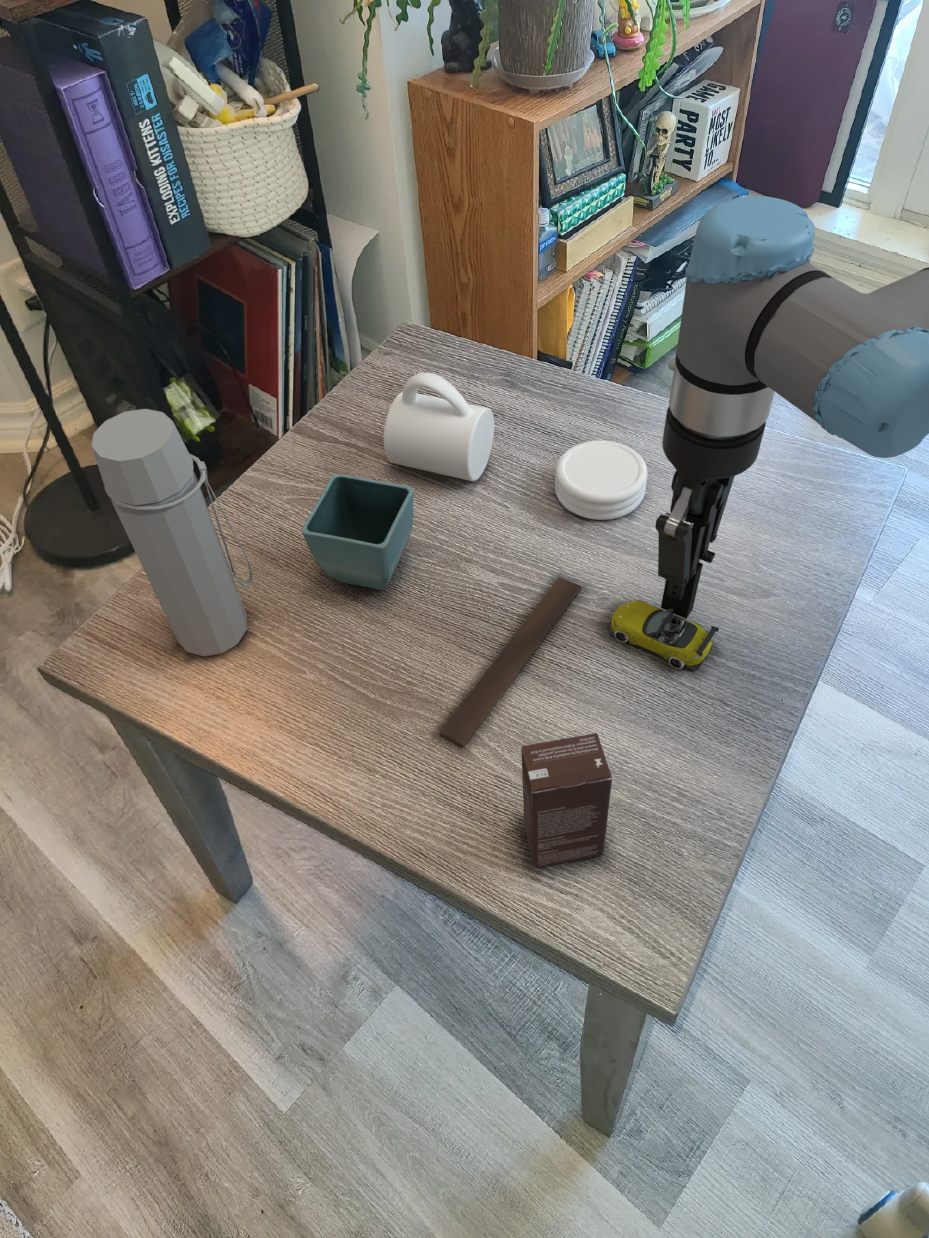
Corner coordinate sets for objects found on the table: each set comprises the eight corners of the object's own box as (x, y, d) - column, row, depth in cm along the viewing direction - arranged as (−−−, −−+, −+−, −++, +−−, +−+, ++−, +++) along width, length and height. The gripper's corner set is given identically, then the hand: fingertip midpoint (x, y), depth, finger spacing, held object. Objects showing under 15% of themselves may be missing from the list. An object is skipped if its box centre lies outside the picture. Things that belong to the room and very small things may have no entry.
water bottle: (188, 673, 87) (94, 477, 68) (169, 618, 91) (76, 420, 72) (278, 639, 89) (212, 440, 70) (256, 587, 94) (187, 387, 74)
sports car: (624, 600, 90) (627, 580, 88) (718, 642, 86) (723, 622, 84) (600, 634, 87) (602, 614, 85) (695, 678, 83) (700, 659, 81)
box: (590, 807, 76) (599, 729, 66) (604, 857, 73) (616, 782, 63) (520, 819, 75) (519, 743, 66) (531, 869, 72) (532, 797, 63)
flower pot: (395, 609, 91) (384, 547, 84) (315, 593, 93) (298, 531, 86) (422, 549, 96) (415, 486, 89) (346, 534, 98) (333, 472, 91)
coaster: (536, 496, 100) (537, 472, 98) (589, 450, 105) (590, 426, 102) (611, 535, 96) (613, 511, 93) (662, 485, 101) (665, 461, 98)
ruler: (581, 589, 91) (581, 586, 91) (463, 747, 80) (463, 744, 80) (559, 579, 92) (559, 576, 92) (439, 735, 81) (439, 732, 80)
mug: (470, 496, 101) (465, 409, 92) (387, 477, 104) (374, 391, 95) (495, 451, 106) (493, 364, 97) (416, 434, 109) (406, 347, 99)
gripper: (706, 354, 74) (670, 552, 92) (634, 443, 67) (610, 637, 85) (795, 381, 71) (739, 580, 89) (729, 477, 64) (683, 671, 82)
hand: (676, 608), depth 87 cm, fingers closed
